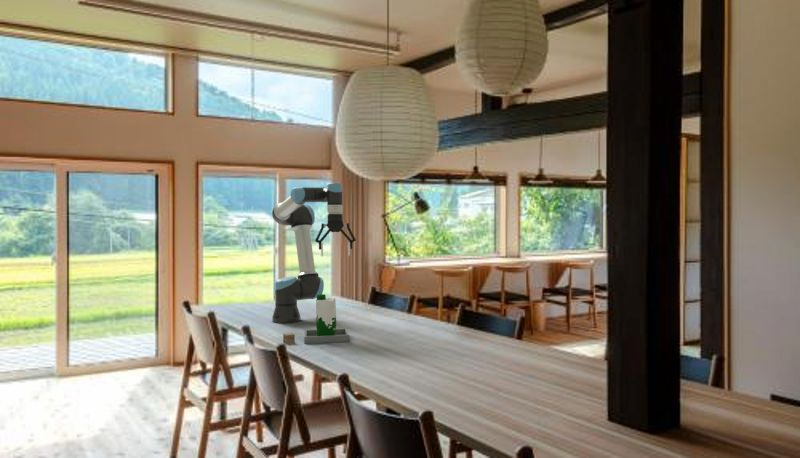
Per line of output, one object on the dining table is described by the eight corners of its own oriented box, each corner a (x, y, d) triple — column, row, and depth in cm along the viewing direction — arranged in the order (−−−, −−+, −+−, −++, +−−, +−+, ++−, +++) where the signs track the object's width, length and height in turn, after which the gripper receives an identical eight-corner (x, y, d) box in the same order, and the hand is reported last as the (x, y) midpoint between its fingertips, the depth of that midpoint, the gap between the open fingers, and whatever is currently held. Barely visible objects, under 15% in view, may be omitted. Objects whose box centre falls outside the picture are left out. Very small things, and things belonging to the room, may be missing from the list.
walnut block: (283, 342, 278) (283, 333, 277) (291, 341, 280) (291, 332, 279) (286, 344, 274) (286, 335, 274) (294, 343, 276) (294, 334, 276)
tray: (304, 336, 290) (304, 330, 290) (346, 334, 293) (346, 328, 293) (304, 343, 274) (304, 337, 274) (349, 341, 277) (349, 335, 277)
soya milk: (318, 335, 288) (317, 293, 287) (337, 335, 287) (336, 293, 287) (315, 339, 279) (314, 296, 278) (334, 339, 279) (334, 296, 278)
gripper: (309, 214, 300) (310, 257, 301) (360, 213, 304) (361, 255, 305) (309, 213, 308) (310, 255, 308) (359, 213, 311) (359, 254, 312)
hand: (335, 255), depth 307 cm, fingers open, 13 cm apart
